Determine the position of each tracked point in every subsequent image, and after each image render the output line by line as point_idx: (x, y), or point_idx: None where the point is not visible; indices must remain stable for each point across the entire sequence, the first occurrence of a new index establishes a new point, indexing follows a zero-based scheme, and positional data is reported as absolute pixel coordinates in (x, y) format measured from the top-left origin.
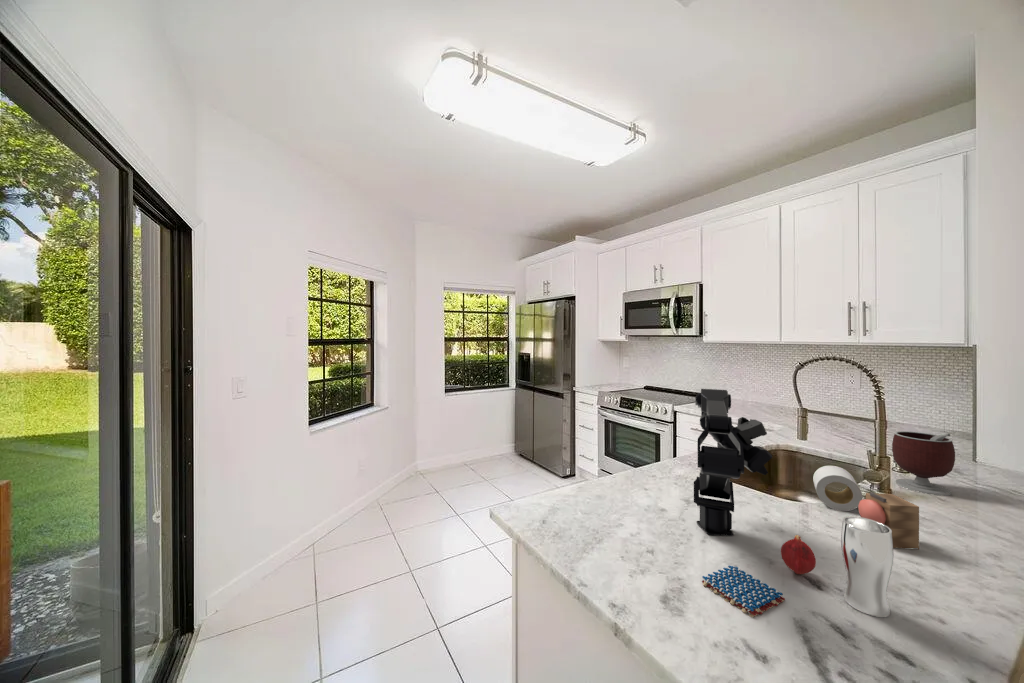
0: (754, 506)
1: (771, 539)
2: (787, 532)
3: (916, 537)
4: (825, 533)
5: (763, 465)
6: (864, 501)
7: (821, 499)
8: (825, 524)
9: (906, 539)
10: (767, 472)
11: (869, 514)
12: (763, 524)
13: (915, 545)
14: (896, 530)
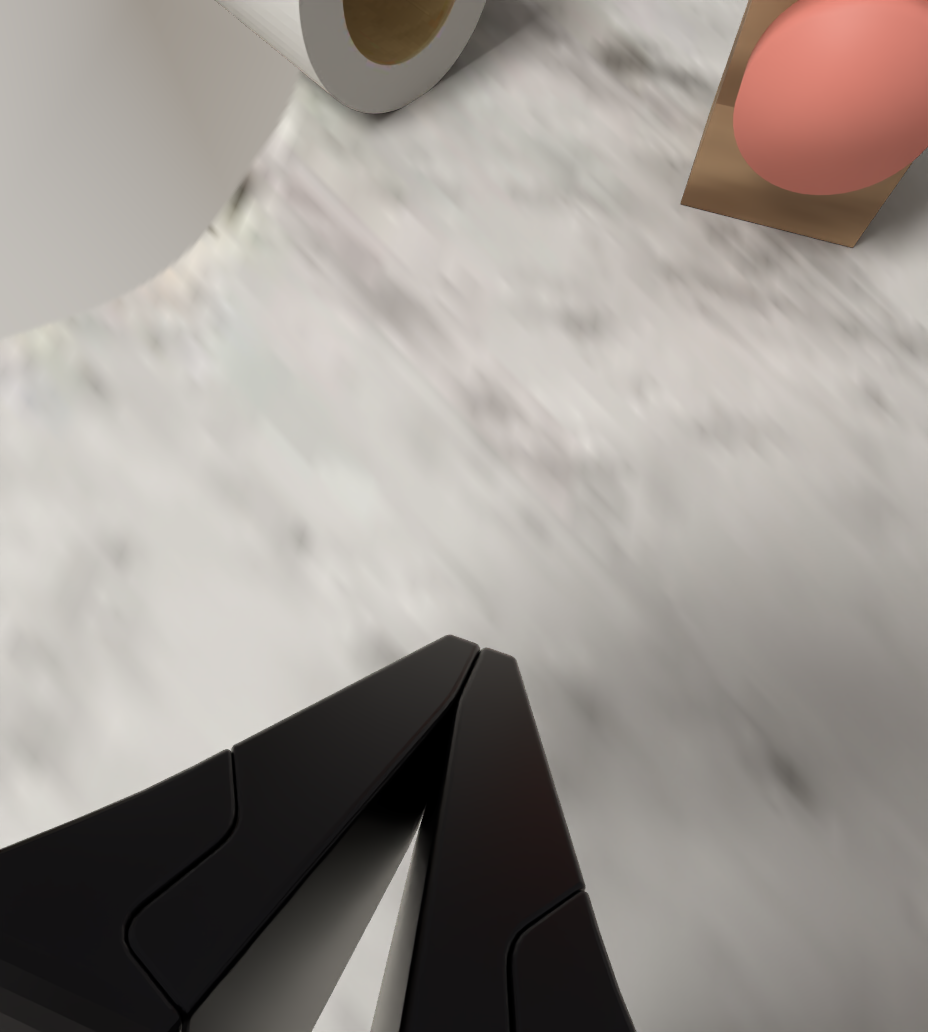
0: (186, 554)
1: (705, 942)
2: (616, 684)
3: None
4: (665, 430)
5: (562, 823)
6: (833, 31)
7: (341, 95)
8: (557, 322)
9: None
10: (517, 673)
11: (844, 124)
12: None
13: None
14: None
